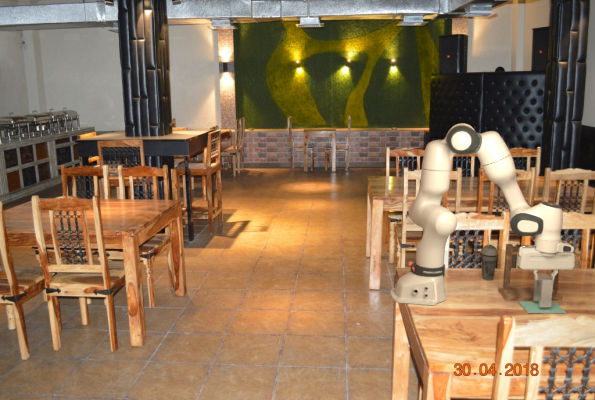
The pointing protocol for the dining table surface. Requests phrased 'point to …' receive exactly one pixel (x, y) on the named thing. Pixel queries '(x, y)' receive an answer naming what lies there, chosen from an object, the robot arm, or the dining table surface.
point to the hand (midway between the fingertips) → (544, 279)
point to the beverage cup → (488, 261)
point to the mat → (541, 308)
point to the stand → (521, 293)
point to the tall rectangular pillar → (543, 290)
